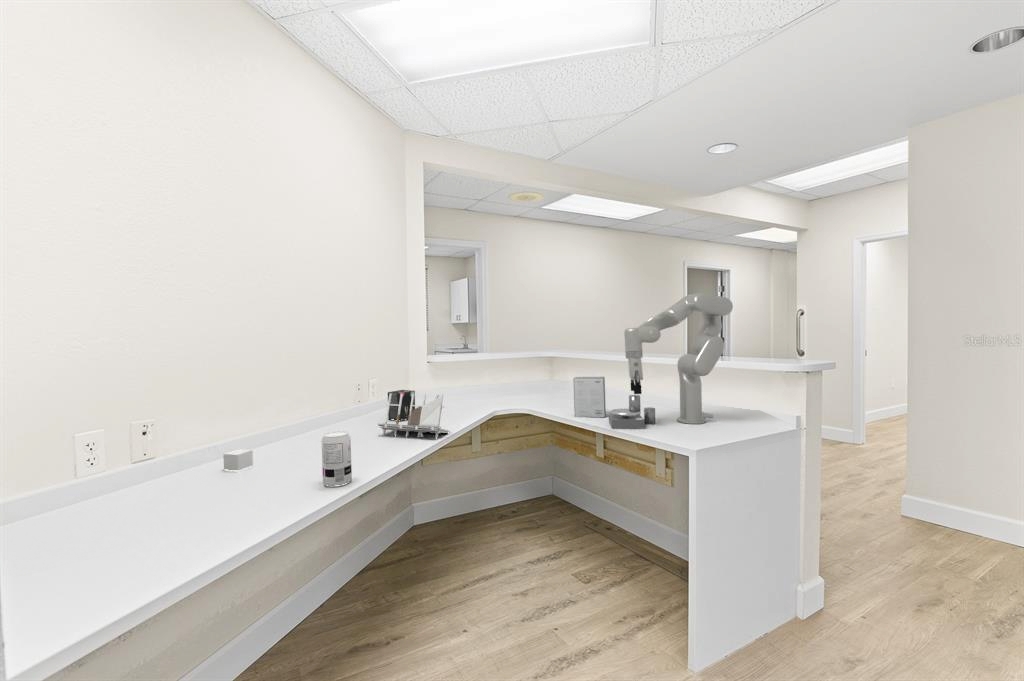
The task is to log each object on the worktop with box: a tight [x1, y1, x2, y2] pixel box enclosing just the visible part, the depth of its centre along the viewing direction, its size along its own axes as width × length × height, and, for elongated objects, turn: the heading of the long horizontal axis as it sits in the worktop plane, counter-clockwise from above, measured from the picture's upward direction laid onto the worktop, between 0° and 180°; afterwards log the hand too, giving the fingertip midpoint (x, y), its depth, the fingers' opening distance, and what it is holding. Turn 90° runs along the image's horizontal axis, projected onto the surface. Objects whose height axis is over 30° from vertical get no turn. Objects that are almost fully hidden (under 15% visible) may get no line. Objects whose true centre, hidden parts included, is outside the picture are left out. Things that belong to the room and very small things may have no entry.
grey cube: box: [223, 448, 254, 470], centre depth 154 cm, size 6×6×6 cm
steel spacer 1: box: [628, 394, 641, 412], centre depth 206 cm, size 5×5×7 cm
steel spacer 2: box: [643, 407, 656, 425], centre depth 210 cm, size 5×5×7 cm
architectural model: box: [377, 393, 451, 439], centre depth 197 cm, size 20×29×21 cm
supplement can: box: [321, 430, 353, 486], centre depth 137 cm, size 8×8×15 cm
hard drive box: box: [573, 376, 607, 418], centre depth 231 cm, size 16×8×20 cm, turn 74°
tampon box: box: [387, 389, 416, 421], centre depth 235 cm, size 11×9×15 cm
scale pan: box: [610, 408, 641, 417], centre depth 207 cm, size 13×13×3 cm
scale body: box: [608, 413, 645, 430], centre depth 207 cm, size 14×14×4 cm
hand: (636, 392), depth 206 cm, fingers open, 9 cm apart
